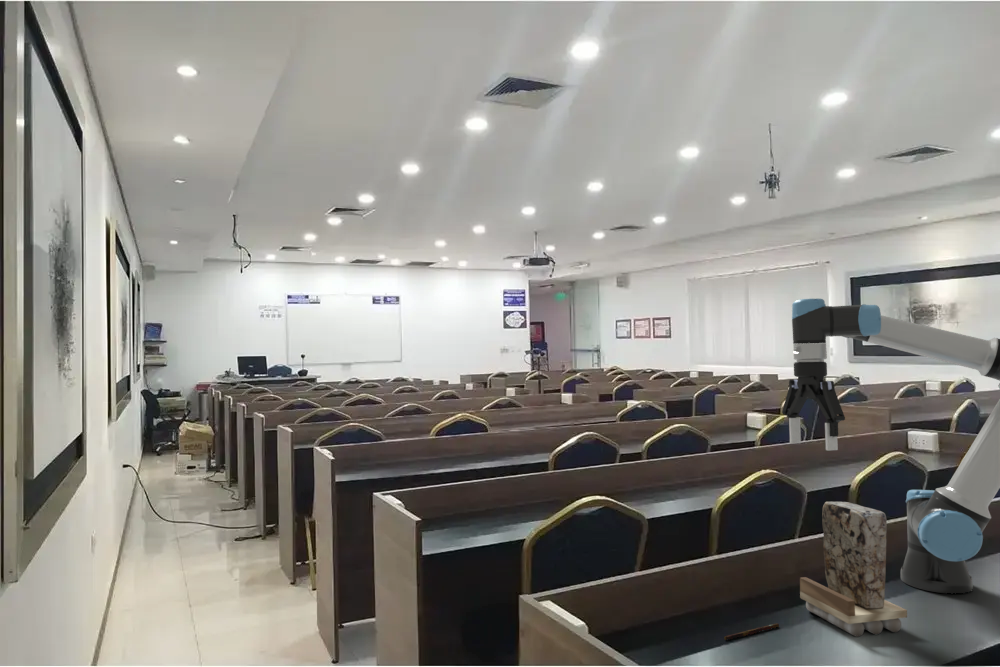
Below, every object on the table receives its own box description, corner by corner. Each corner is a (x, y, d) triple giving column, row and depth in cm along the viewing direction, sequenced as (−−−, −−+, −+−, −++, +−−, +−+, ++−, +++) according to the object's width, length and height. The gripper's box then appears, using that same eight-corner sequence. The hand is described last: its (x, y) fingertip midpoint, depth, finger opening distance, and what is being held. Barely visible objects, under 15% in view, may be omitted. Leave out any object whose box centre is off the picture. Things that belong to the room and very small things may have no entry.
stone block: (892, 607, 141) (890, 511, 142) (867, 612, 139) (864, 514, 139) (841, 587, 153) (839, 498, 154) (817, 590, 151) (815, 500, 152)
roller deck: (854, 605, 154) (853, 572, 154) (907, 632, 139) (906, 595, 140) (800, 611, 151) (799, 577, 151) (849, 639, 136) (848, 601, 137)
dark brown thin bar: (725, 642, 136) (725, 637, 136) (723, 641, 136) (723, 636, 137) (779, 628, 143) (778, 623, 143) (777, 627, 143) (777, 622, 143)
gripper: (766, 361, 180) (769, 441, 179) (831, 361, 155) (834, 454, 155) (791, 360, 181) (794, 440, 181) (859, 360, 157) (862, 452, 156)
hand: (812, 446), depth 168 cm, fingers open, 13 cm apart
